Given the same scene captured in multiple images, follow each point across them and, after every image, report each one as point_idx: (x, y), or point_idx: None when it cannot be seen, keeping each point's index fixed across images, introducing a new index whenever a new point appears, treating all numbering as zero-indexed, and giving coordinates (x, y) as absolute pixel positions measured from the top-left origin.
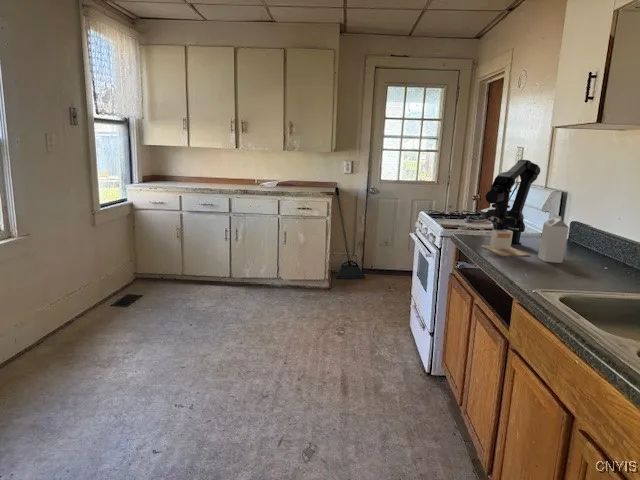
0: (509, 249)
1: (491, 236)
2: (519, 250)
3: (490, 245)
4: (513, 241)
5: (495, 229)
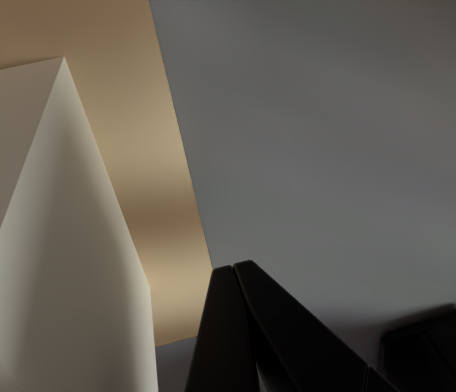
0: None
1: (19, 151)
2: None
3: (39, 68)
4: (399, 382)
5: (249, 390)
